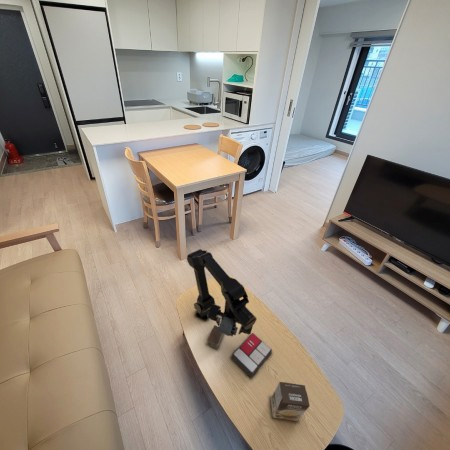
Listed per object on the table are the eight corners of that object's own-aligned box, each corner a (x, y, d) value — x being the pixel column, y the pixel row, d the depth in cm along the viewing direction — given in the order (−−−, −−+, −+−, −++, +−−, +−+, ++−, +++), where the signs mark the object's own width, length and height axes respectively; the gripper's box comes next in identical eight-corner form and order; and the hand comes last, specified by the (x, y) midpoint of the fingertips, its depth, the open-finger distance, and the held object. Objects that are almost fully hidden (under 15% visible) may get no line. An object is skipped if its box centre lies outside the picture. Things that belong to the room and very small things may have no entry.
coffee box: (272, 418, 86) (281, 403, 77) (270, 398, 91) (278, 381, 82) (297, 421, 85) (310, 406, 76) (294, 400, 91) (305, 384, 81)
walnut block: (207, 344, 108) (207, 339, 105) (214, 329, 114) (214, 324, 111) (217, 349, 106) (217, 344, 104) (223, 334, 112) (224, 329, 110)
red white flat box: (272, 348, 103) (252, 373, 94) (270, 353, 106) (251, 378, 97) (252, 331, 110) (232, 353, 101) (251, 336, 112) (231, 358, 103)
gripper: (202, 315, 89) (201, 336, 98) (249, 335, 83) (244, 356, 92) (213, 294, 97) (211, 315, 106) (256, 310, 91) (251, 331, 100)
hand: (228, 329), depth 101 cm, fingers open, 9 cm apart
